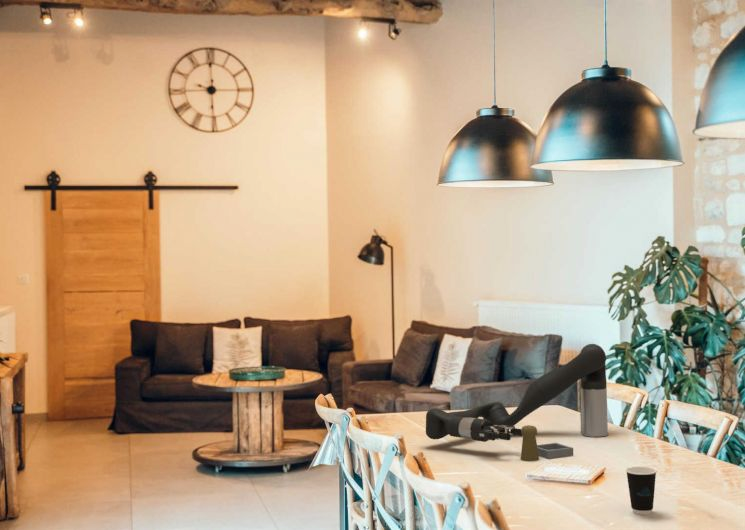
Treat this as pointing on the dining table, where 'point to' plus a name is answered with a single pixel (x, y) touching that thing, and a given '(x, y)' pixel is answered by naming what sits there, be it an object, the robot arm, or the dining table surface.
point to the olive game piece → (529, 444)
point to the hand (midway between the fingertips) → (516, 434)
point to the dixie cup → (641, 488)
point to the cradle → (554, 450)
